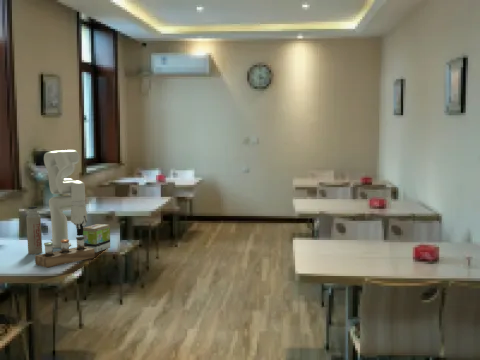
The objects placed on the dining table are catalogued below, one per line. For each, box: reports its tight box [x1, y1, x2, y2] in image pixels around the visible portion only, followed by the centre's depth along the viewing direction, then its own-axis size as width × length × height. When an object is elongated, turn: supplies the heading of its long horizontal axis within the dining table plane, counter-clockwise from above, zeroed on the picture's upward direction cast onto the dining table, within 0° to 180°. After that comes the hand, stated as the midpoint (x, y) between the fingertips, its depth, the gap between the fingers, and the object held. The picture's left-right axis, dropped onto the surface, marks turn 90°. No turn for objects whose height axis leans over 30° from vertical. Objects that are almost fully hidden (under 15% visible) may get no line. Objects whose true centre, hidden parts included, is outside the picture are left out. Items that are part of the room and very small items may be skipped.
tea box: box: [82, 223, 111, 253], centre depth 344 cm, size 15×10×15 cm
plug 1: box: [43, 241, 54, 257], centre depth 309 cm, size 5×5×7 cm
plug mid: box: [60, 238, 70, 254], centre depth 317 cm, size 5×5×7 cm
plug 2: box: [75, 235, 84, 250], centre depth 324 cm, size 5×5×7 cm
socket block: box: [34, 246, 96, 268], centre depth 317 cm, size 12×30×5 cm, turn 139°
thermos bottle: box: [25, 205, 43, 255], centre depth 338 cm, size 8×8×28 cm
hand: (80, 235), depth 323 cm, fingers closed
